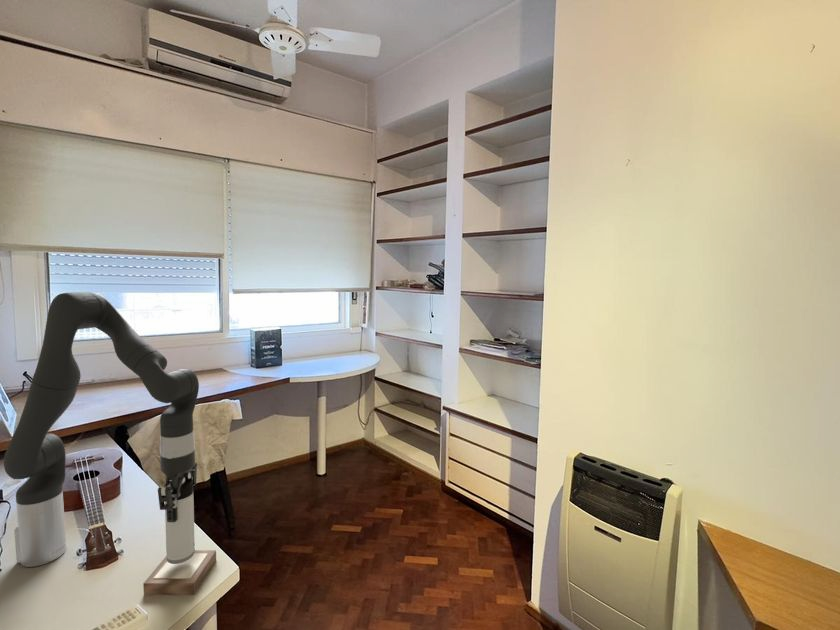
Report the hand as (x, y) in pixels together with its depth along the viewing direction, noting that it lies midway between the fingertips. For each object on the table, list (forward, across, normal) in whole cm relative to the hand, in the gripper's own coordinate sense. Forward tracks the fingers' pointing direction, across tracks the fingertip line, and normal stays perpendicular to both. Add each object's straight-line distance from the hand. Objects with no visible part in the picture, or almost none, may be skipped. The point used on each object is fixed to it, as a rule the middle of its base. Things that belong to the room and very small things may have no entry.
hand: (179, 513), depth 105 cm
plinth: (+17, 0, 0) cm, 17 cm away
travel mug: (+12, 0, 0) cm, 12 cm away
